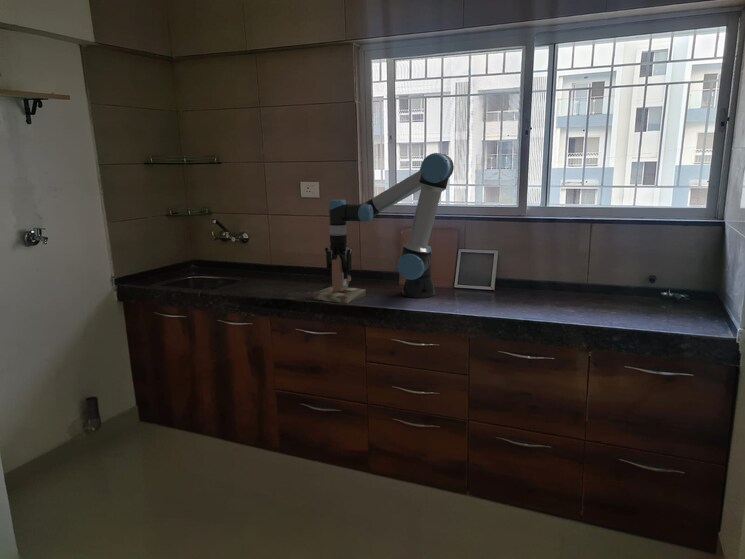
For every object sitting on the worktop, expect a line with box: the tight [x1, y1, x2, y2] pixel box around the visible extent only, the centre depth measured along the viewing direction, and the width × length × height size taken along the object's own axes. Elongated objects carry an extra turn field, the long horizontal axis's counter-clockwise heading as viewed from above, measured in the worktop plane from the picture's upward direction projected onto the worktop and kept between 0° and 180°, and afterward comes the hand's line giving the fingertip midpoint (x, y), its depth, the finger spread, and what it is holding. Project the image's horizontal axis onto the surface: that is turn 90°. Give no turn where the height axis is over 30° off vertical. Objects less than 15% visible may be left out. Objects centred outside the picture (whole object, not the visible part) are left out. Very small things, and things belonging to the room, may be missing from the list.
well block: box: [313, 285, 367, 304], centre depth 240 cm, size 18×16×3 cm
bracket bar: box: [331, 258, 346, 291], centre depth 238 cm, size 4×4×14 cm
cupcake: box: [346, 274, 352, 288], centre depth 259 cm, size 9×8×12 cm
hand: (339, 284), depth 239 cm, fingers closed on bracket bar, 4 cm apart
